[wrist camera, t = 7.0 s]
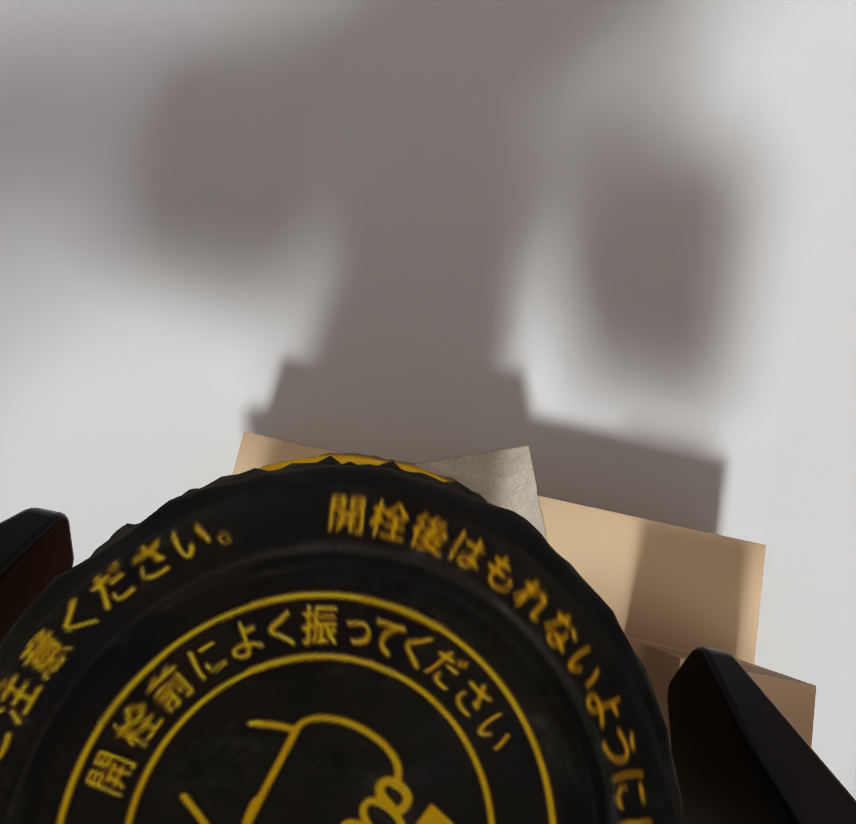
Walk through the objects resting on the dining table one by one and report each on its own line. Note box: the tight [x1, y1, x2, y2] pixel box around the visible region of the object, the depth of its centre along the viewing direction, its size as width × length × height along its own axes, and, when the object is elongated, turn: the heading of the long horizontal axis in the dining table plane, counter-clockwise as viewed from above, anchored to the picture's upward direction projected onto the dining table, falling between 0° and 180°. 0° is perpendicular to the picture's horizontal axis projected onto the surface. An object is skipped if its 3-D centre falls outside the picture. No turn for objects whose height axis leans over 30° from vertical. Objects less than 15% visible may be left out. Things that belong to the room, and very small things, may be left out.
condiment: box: [0, 446, 684, 824], centre depth 10 cm, size 7×8×12 cm
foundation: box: [233, 432, 816, 747], centre depth 16 cm, size 9×14×6 cm, turn 78°
